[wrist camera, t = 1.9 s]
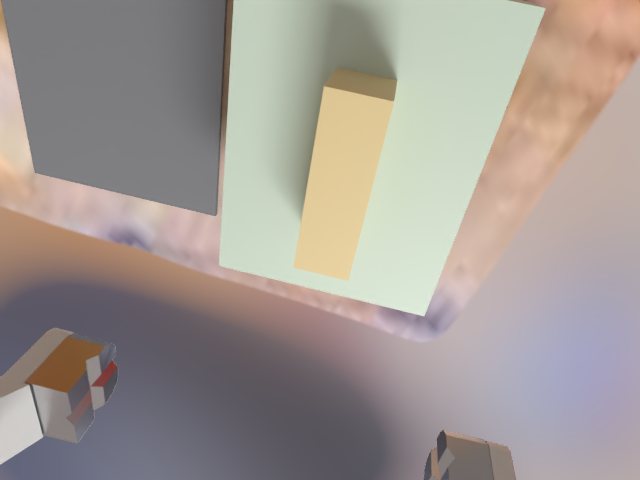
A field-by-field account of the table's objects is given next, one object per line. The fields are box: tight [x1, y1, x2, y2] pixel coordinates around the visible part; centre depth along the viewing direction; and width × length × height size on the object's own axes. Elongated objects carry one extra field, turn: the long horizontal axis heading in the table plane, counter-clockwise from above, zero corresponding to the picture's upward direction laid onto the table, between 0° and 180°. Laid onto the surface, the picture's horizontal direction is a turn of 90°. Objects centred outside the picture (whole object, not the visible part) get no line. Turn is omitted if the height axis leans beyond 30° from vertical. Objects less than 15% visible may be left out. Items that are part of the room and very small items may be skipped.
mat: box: [1, 0, 227, 216], centre depth 31 cm, size 20×15×1 cm
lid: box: [219, 0, 546, 316], centre depth 23 cm, size 17×13×6 cm
